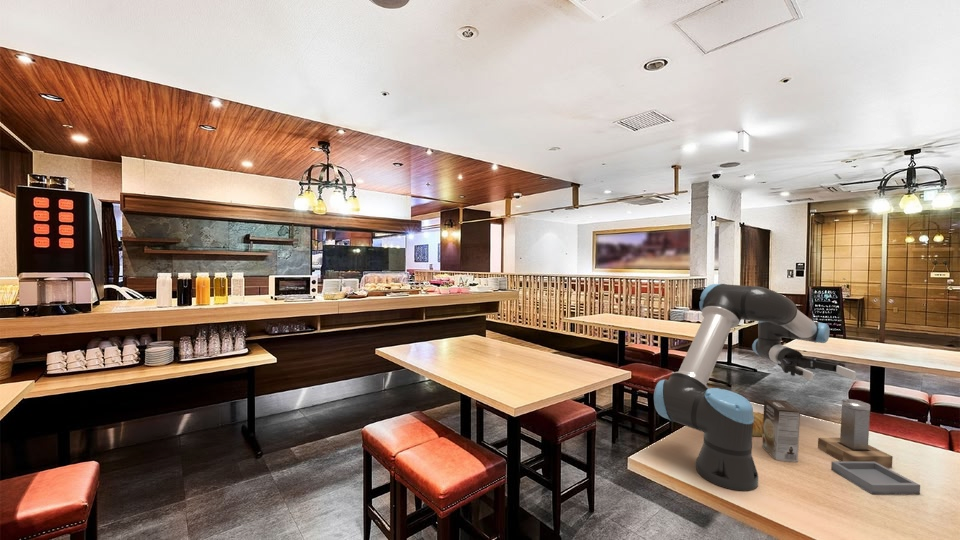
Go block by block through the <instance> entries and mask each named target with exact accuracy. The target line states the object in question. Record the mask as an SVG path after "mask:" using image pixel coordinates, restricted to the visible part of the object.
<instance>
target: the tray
mask: <svg viewBox="0 0 960 540" xmlns="http://www.w3.org/2000/svg"><path fill="white" fill-rule="evenodd" d="M830 464H831V465H830V466H831V468H830V470H831V471H833V472H834V473H835V474H837V475H839V476H841V477H843V478H845V479H846V480H848V481H849V482H851V483H852V484H854V485H856V486H858V487H859V488H860V489H863V490H864V491H865V492H867V493H869V494H871V495H920V494H921V484H919V483H917V482H915V481H913V480H911V479H909V478H908V477H905V476H904V475H901V474H900V473H898V472H896V471H894V470H892V469H891V468H886V467H884V466H882V465H880V464H879V463H877V462H875V461H840V460H838V461H834V460H833V461H832V460H831V463H830Z"/></svg>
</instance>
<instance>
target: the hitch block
mask: <svg viewBox="0 0 960 540" xmlns="http://www.w3.org/2000/svg"><path fill="white" fill-rule="evenodd" d="M817 438H818V439H817V449H818V450H820V451H822V452H823V453H825V454H827V455H830V456H831V457H833V458H835V459H836V460H838V461H875V462H877V463H879V464H880V465H882V466H884V467H886V468H888V469H892V468H893V459H894V458H893V455H891V454H888V453H887V452H884V451H882V450H880V449H878V448H876V447H874V446H872V445H870V444H868V451H852V450H850V449H848V448H847V447H845V446H843V445H841V444H840V437H817Z"/></svg>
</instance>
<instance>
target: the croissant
mask: <svg viewBox="0 0 960 540" xmlns="http://www.w3.org/2000/svg"><path fill="white" fill-rule="evenodd" d="M753 417H754V422H753V435H752V437H762V438H763V417H764V413H761V412H756V411H755V412H754V411H753Z"/></svg>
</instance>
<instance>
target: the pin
mask: <svg viewBox="0 0 960 540" xmlns="http://www.w3.org/2000/svg"><path fill="white" fill-rule="evenodd" d="M870 415H871V404H870V403H867V402H864V401H862V400H858V399H851V398H844V399H841V415H840V416H841V418H840V434H839V435H840V437H839V438H840V444H841V445H843V446H845V447H847V448H848V449H850V450H852V451H868V445H869V437H870V436H869V435H870V420H871V419H870V418H871V417H870Z"/></svg>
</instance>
